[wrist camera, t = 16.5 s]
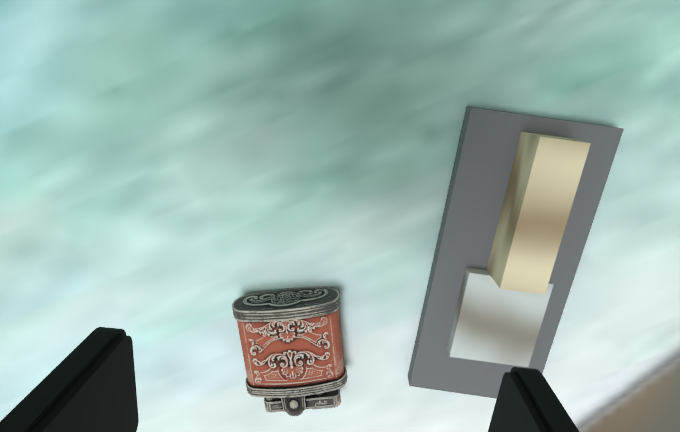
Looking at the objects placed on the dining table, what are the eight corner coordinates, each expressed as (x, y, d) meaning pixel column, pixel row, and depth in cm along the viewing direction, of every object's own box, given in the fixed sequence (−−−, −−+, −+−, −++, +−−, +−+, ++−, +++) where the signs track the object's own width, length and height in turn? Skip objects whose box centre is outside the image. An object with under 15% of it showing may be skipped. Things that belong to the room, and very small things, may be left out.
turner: (498, 128, 27) (514, 133, 24) (588, 140, 27) (616, 146, 24) (446, 348, 32) (455, 374, 29) (522, 359, 32) (539, 385, 29)
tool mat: (466, 106, 28) (471, 107, 27) (612, 127, 28) (623, 128, 27) (407, 375, 34) (409, 385, 33) (526, 393, 34) (532, 403, 33)
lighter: (237, 293, 32) (255, 397, 35) (227, 315, 29) (248, 428, 32) (338, 284, 32) (348, 389, 35) (340, 305, 29) (350, 419, 32)
